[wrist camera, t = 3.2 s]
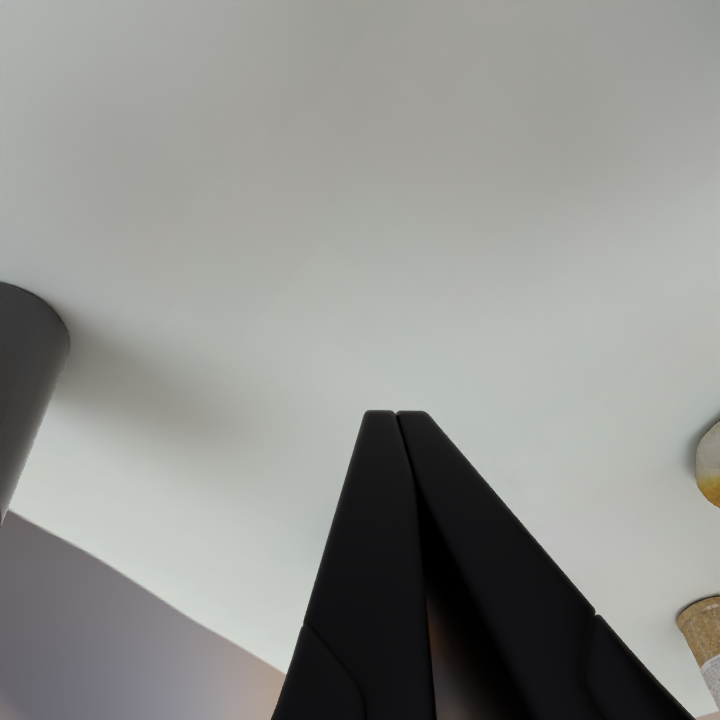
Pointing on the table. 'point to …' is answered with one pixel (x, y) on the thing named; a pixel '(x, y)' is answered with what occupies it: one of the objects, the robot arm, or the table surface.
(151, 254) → the table surface
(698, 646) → the sprinkles bottle
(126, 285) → the table surface
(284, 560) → the table surface
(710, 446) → the bread roll
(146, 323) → the table surface
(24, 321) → the pepper pot
